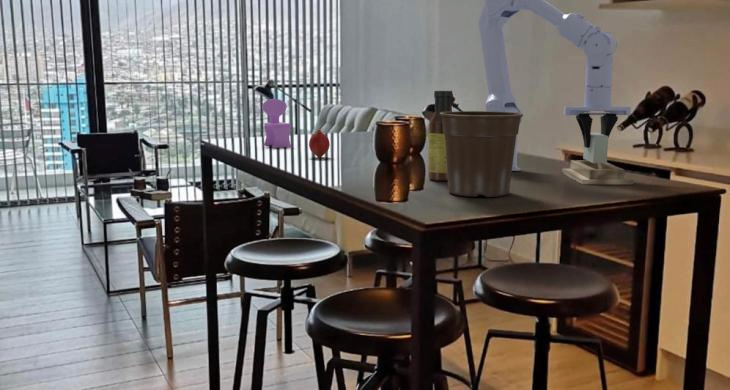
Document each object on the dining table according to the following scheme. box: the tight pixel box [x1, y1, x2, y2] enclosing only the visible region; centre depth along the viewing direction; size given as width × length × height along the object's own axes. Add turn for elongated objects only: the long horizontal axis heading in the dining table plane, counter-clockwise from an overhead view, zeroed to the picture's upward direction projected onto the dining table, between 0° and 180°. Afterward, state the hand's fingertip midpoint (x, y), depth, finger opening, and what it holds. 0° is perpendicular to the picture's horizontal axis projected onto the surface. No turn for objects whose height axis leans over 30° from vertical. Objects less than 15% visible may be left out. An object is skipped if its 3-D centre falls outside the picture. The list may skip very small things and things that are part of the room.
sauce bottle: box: [427, 90, 454, 182], centre depth 158 cm, size 6×6×20 cm
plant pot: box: [440, 110, 524, 198], centre depth 142 cm, size 16×16×16 cm
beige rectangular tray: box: [561, 159, 635, 185], centre depth 161 cm, size 11×17×3 cm, turn 179°
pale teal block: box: [582, 132, 609, 163], centre depth 162 cm, size 3×8×6 cm, turn 179°
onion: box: [308, 128, 331, 158], centre depth 198 cm, size 6×6×8 cm
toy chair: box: [261, 98, 292, 149], centre depth 227 cm, size 8×9×15 cm
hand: (594, 147), depth 162 cm, fingers closed on pale teal block, 3 cm apart
